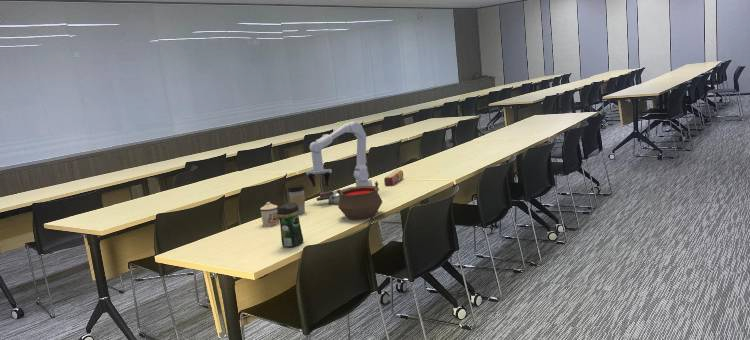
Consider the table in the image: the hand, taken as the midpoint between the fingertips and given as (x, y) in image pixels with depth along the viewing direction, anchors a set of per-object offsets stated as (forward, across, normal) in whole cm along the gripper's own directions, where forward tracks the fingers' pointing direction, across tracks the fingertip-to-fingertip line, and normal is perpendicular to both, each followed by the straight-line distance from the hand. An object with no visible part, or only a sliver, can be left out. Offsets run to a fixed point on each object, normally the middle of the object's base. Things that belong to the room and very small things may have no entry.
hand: (320, 186), depth 330 cm
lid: (+6, -8, +2) cm, 10 cm away
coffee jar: (+10, -5, +78) cm, 79 cm away
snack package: (+11, -36, -44) cm, 59 cm away
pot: (+10, -8, +1) cm, 13 cm away
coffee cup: (+10, +8, +20) cm, 24 cm away
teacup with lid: (+10, +17, +38) cm, 43 cm away
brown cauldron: (+10, -29, +36) cm, 48 cm away
